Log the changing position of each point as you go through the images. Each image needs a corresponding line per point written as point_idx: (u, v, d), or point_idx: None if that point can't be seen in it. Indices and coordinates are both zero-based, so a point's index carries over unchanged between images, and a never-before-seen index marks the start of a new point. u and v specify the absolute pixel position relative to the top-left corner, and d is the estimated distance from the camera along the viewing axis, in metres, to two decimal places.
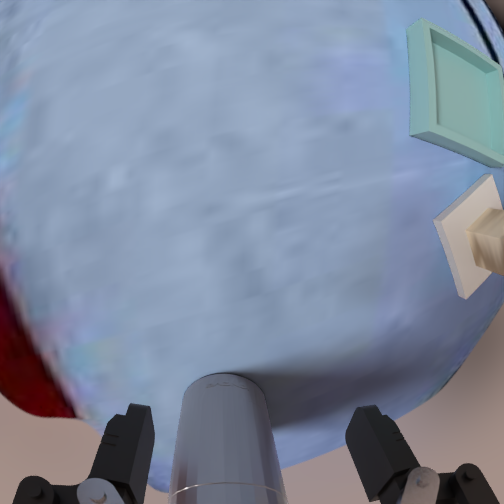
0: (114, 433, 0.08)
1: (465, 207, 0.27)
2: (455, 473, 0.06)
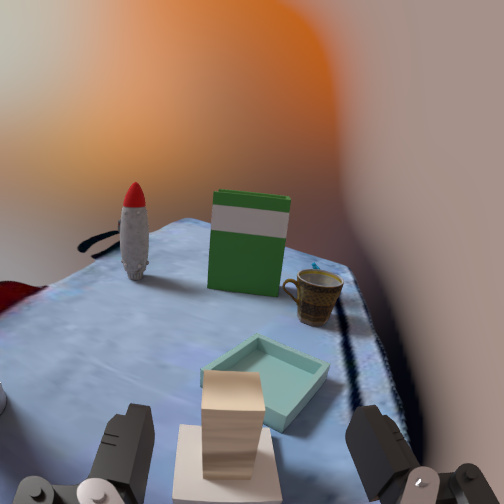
0: (114, 433, 0.08)
1: None
2: (455, 473, 0.06)
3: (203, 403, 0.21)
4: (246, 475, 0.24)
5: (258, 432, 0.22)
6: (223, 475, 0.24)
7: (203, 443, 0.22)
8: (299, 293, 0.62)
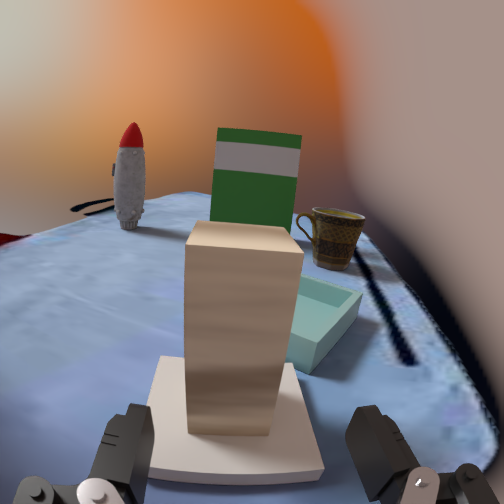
0: (114, 433, 0.08)
1: None
2: (455, 473, 0.06)
3: (190, 240, 0.13)
4: (262, 426, 0.16)
5: (289, 314, 0.14)
6: (222, 426, 0.16)
7: (187, 343, 0.14)
8: (315, 230, 0.53)
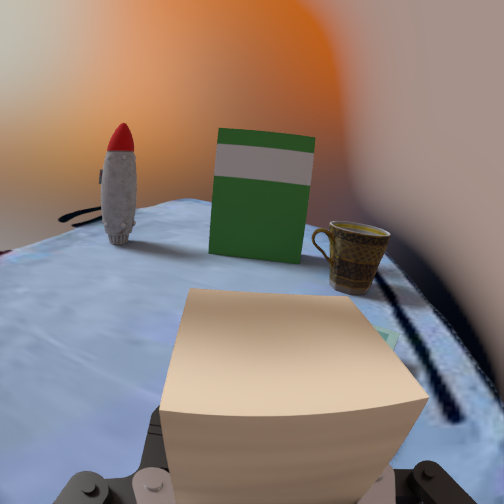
0: (160, 423, 0.09)
1: None
2: (412, 474, 0.06)
3: (172, 385, 0.05)
4: None
5: (371, 478, 0.05)
6: None
7: None
8: (334, 248, 0.45)
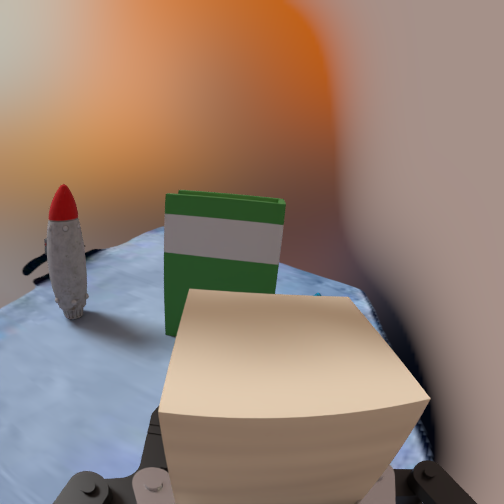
0: None
1: None
2: (412, 474, 0.06)
3: (170, 387, 0.05)
4: None
5: (371, 480, 0.05)
6: None
7: None
8: None
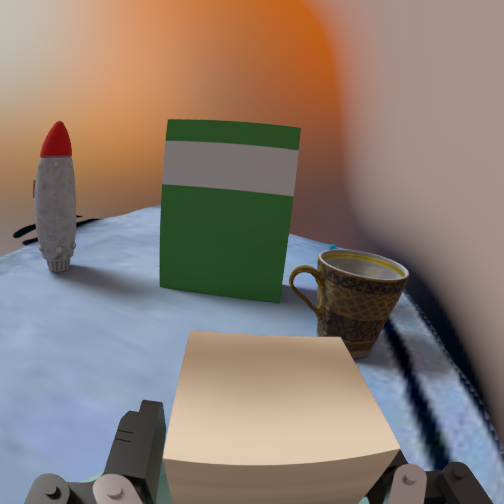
0: (127, 429, 0.08)
1: None
2: (443, 472, 0.06)
3: (172, 435, 0.05)
4: None
5: None
6: None
7: None
8: (323, 295, 0.30)
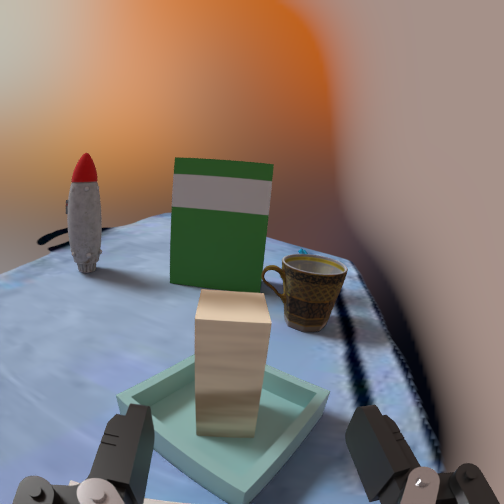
0: (114, 433, 0.08)
1: None
2: (455, 473, 0.06)
3: (197, 314, 0.20)
4: (248, 430, 0.22)
5: (263, 359, 0.20)
6: (221, 430, 0.22)
7: (196, 376, 0.20)
8: (285, 286, 0.44)
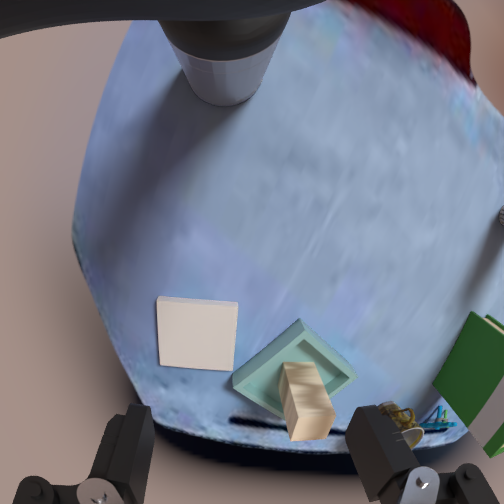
0: (114, 433, 0.08)
1: (230, 333, 0.41)
2: (455, 473, 0.06)
3: (303, 418, 0.32)
4: (279, 387, 0.44)
5: (287, 424, 0.36)
6: (281, 376, 0.43)
7: (291, 392, 0.37)
8: (399, 419, 0.44)
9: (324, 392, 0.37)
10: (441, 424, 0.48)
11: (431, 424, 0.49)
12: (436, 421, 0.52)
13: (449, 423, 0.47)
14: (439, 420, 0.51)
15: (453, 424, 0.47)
